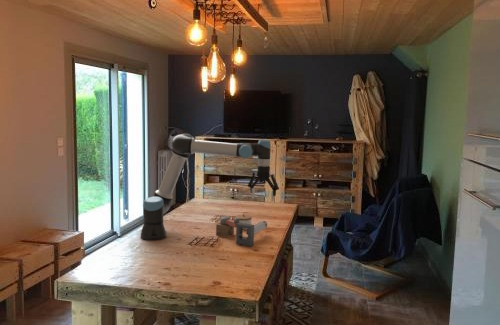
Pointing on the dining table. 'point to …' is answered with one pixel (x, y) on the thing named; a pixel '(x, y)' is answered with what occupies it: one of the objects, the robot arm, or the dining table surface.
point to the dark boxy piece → (239, 234)
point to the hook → (259, 227)
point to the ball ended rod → (229, 221)
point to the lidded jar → (244, 219)
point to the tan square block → (224, 230)
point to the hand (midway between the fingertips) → (262, 199)
